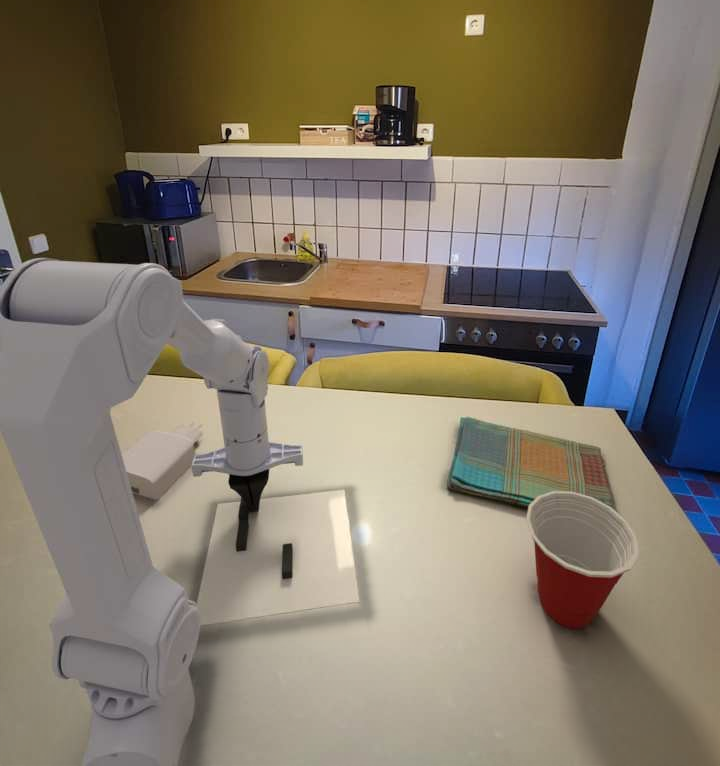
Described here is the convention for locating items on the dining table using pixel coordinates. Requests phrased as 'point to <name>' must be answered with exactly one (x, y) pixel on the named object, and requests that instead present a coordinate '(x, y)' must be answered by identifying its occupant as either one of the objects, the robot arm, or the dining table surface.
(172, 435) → the charger
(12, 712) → the dining table surface
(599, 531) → the plastic cup
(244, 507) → the ink strip
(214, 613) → the whiteboard
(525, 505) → the dish towel
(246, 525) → the ink strip
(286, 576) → the ink strip
